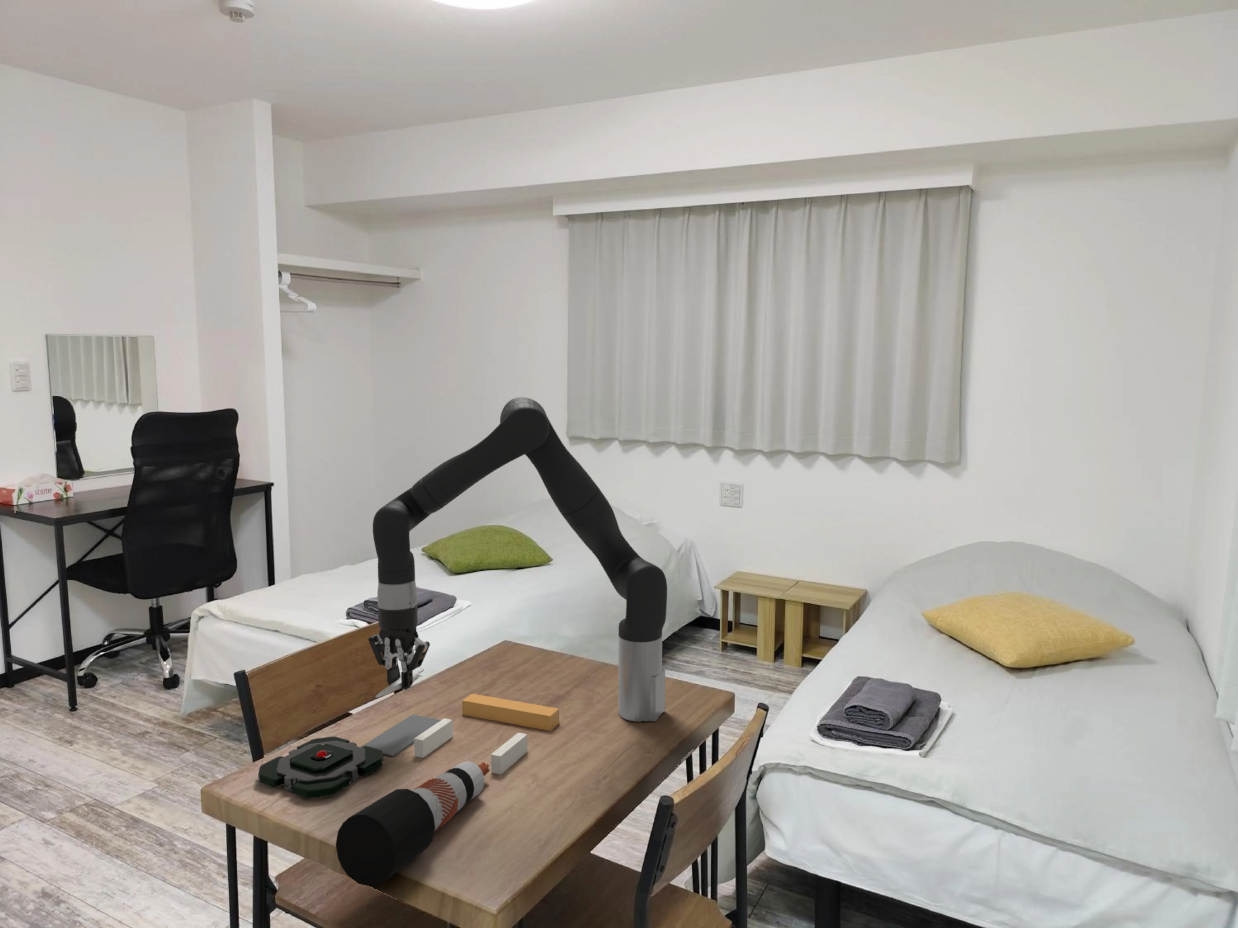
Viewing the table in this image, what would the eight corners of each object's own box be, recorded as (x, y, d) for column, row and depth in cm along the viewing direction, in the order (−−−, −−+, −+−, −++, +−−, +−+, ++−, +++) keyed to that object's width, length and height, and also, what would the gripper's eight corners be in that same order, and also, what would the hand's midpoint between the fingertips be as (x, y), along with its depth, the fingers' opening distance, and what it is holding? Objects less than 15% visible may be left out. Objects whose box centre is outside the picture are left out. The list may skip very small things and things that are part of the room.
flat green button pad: (324, 745, 168) (323, 722, 168) (394, 765, 160) (393, 741, 159) (247, 784, 153) (246, 760, 152) (320, 809, 144) (319, 783, 144)
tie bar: (559, 724, 177) (559, 708, 177) (550, 732, 174) (550, 715, 173) (472, 708, 185) (472, 693, 185) (462, 715, 182) (462, 700, 181)
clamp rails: (527, 751, 164) (527, 734, 164) (500, 774, 155) (500, 756, 155) (444, 734, 172) (444, 718, 171) (414, 755, 163) (413, 738, 162)
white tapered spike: (417, 674, 177) (417, 665, 177) (428, 676, 176) (428, 667, 176) (369, 700, 164) (369, 690, 163) (381, 702, 162) (380, 692, 162)
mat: (444, 722, 178) (444, 720, 178) (392, 756, 162) (392, 754, 162) (412, 716, 181) (412, 714, 181) (359, 749, 165) (359, 747, 165)
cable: (493, 807, 152) (518, 762, 151) (376, 900, 121) (406, 844, 119) (451, 773, 155) (475, 728, 154) (325, 855, 124) (353, 799, 122)
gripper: (356, 603, 167) (359, 688, 169) (415, 611, 162) (418, 699, 164) (381, 594, 174) (383, 675, 176) (438, 601, 168) (440, 685, 170)
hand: (400, 686), depth 170 cm, fingers closed on white tapered spike, 2 cm apart
